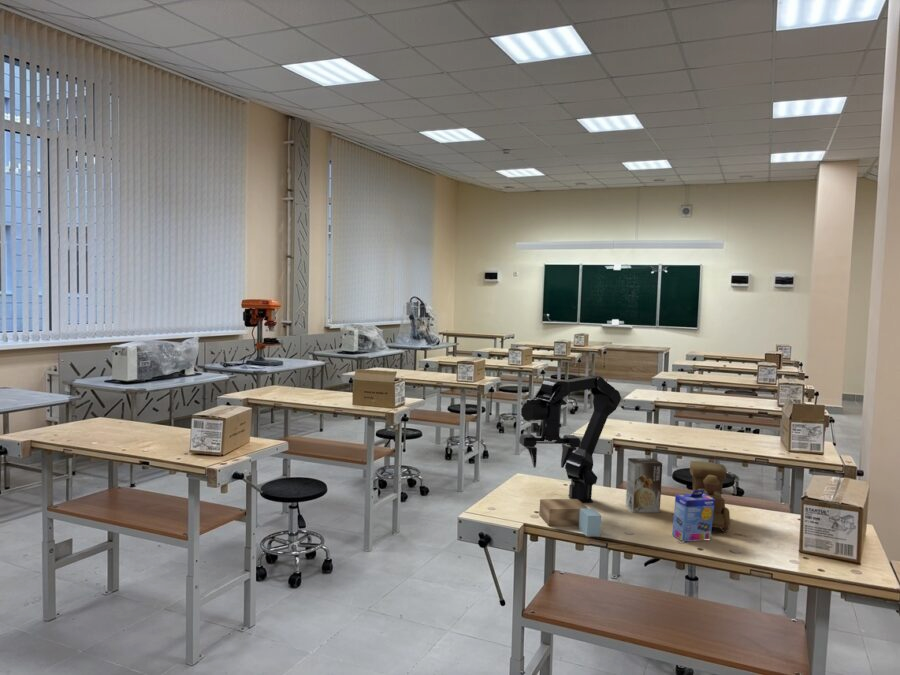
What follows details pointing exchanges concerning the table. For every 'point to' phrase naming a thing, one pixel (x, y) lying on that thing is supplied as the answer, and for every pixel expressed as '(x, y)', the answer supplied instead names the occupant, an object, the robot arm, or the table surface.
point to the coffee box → (643, 485)
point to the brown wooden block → (560, 511)
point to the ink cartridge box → (693, 516)
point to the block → (590, 522)
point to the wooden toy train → (712, 488)
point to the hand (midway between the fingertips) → (548, 467)
